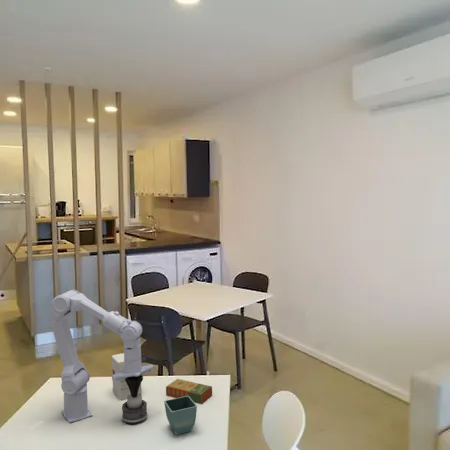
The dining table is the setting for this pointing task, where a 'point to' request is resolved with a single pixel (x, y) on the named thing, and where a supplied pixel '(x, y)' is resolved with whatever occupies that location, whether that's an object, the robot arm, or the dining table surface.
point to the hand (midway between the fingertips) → (134, 396)
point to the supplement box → (121, 386)
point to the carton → (189, 390)
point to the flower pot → (181, 414)
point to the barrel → (134, 414)
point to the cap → (134, 402)
